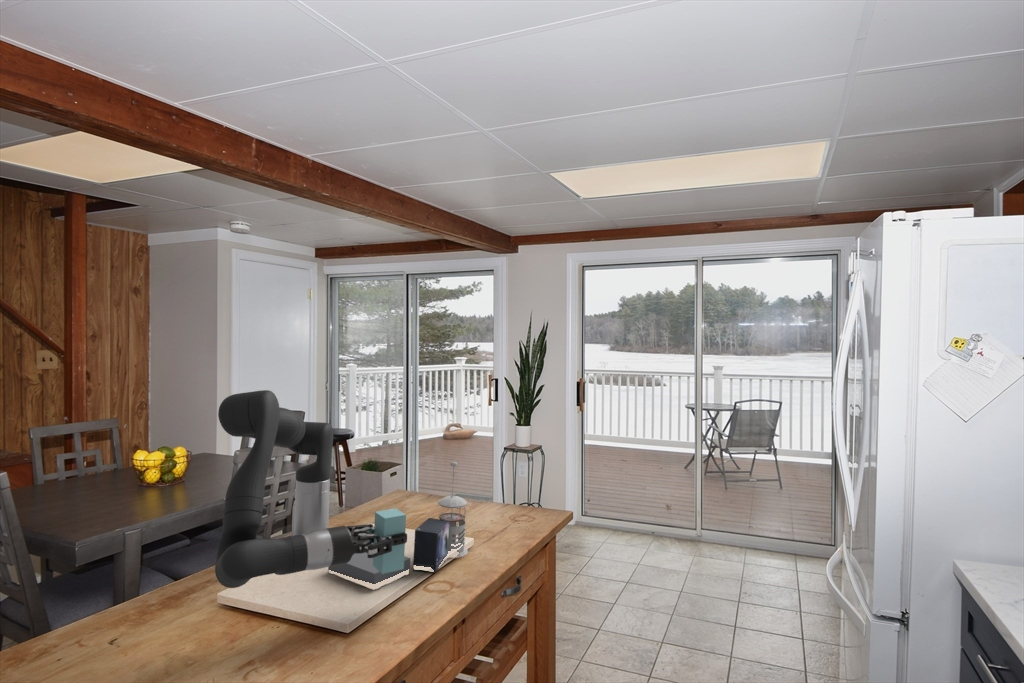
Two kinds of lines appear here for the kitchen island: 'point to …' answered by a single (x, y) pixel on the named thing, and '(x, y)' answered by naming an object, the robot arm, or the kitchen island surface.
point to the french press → (454, 520)
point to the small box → (431, 543)
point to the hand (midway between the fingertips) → (400, 533)
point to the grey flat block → (365, 569)
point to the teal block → (390, 525)
